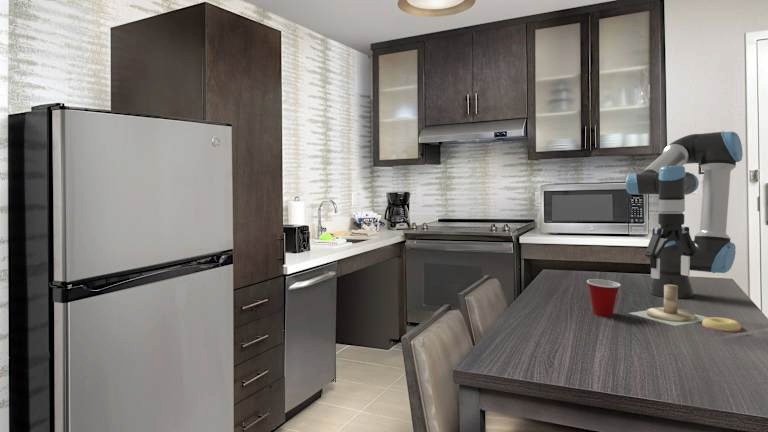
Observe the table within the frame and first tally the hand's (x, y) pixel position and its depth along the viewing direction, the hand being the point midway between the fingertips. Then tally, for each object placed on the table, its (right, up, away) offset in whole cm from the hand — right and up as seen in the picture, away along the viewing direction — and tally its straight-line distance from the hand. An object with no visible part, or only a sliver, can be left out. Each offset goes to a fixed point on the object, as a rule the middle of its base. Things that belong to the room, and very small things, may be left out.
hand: (670, 276), depth 172 cm
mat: (+1, -14, +1) cm, 14 cm away
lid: (+1, -13, +1) cm, 13 cm away
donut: (+8, -15, -13) cm, 22 cm away
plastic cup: (-20, -14, +6) cm, 25 cm away
